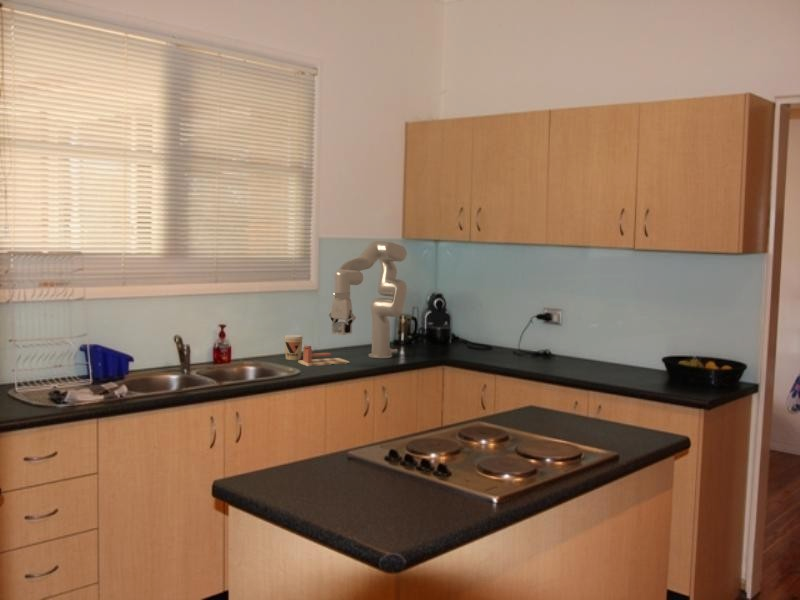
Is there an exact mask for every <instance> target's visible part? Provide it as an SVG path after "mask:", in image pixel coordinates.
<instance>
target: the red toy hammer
mask: <svg viewBox="0 0 800 600" xmlns="http://www.w3.org/2000/svg"><path fill="white" fill-rule="evenodd" d="M302 347H303V348H302V349H303V351H302V353H303V357H302V360H303V361H304V362H306V363H312V360H313V358H316V357H329V356H332V353H331V352H317V353H313V349H312V346H311V345H304V346H302Z"/></svg>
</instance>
